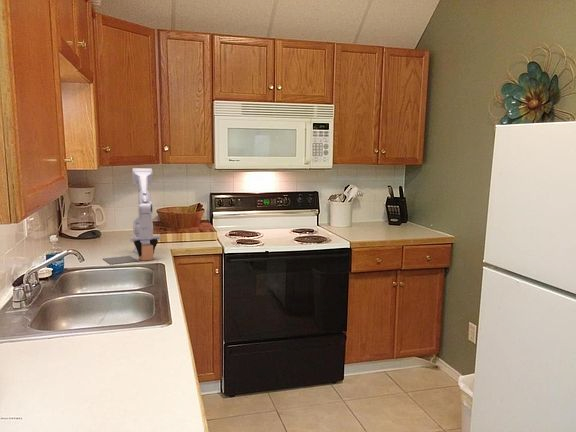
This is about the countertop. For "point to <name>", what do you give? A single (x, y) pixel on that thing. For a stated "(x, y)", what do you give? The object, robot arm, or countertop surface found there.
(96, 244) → the countertop surface
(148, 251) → the orange brown block
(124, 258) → the mat
